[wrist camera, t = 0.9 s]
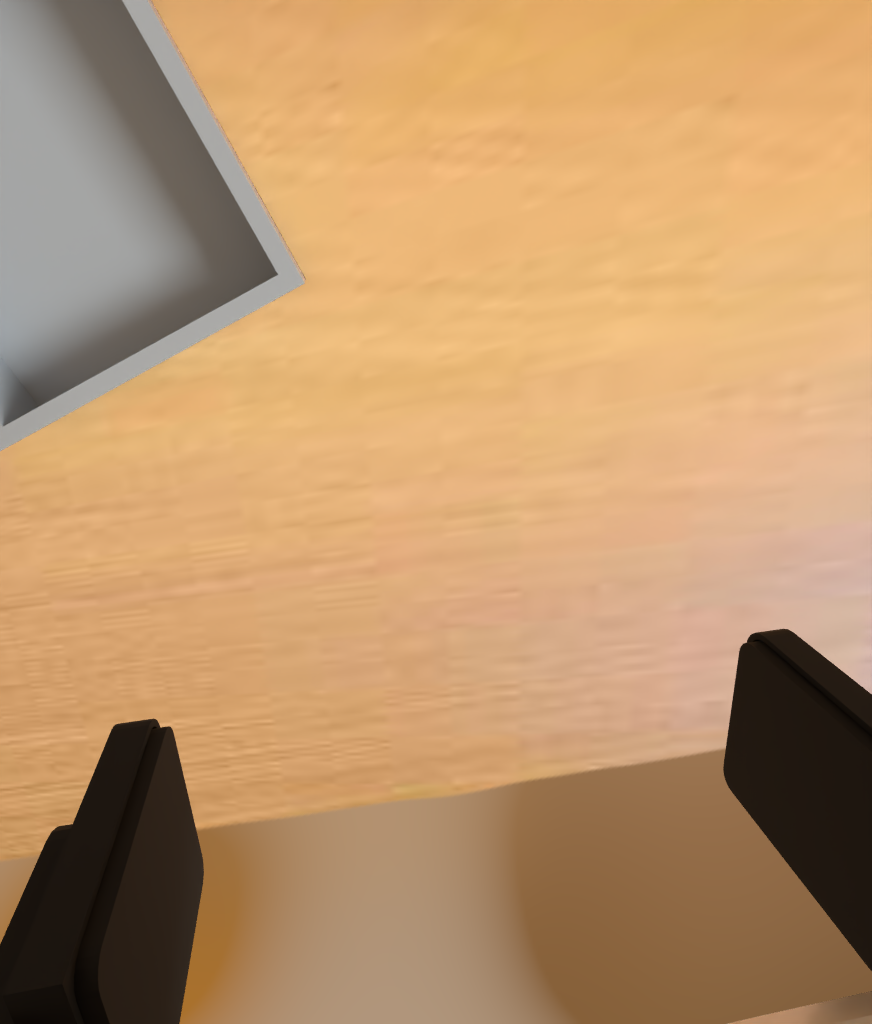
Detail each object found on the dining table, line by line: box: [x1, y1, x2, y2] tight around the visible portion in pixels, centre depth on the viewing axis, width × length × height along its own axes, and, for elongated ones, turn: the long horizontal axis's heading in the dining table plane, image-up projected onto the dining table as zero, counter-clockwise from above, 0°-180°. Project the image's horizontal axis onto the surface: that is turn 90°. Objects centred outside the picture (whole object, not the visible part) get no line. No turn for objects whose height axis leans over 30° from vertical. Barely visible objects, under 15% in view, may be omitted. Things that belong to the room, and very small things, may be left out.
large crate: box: [0, 0, 305, 451], centre depth 28 cm, size 15×18×5 cm
